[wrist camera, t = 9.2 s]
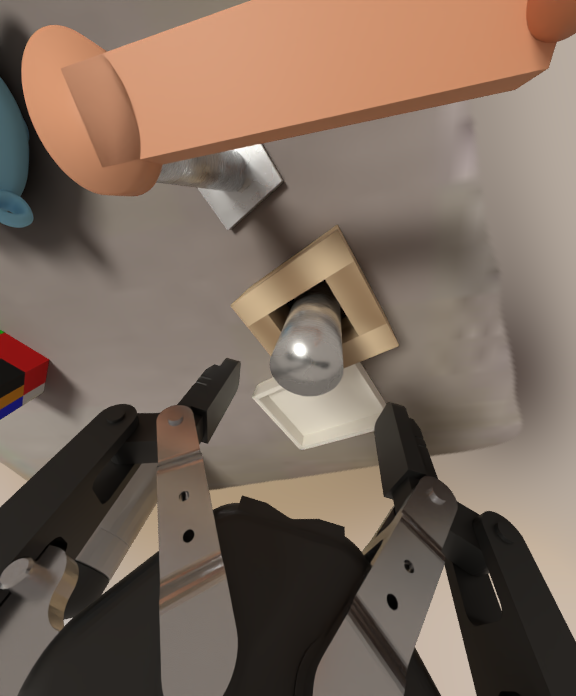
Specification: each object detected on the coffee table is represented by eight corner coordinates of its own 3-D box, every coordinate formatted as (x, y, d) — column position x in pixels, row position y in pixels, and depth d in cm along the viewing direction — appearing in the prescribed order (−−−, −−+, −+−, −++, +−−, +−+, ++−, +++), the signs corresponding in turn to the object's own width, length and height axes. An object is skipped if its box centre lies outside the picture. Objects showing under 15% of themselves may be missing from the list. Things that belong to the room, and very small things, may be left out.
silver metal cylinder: (310, 330, 25) (296, 404, 15) (287, 296, 23) (255, 356, 14) (347, 310, 23) (357, 381, 14) (325, 272, 21) (317, 322, 12)
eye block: (302, 359, 27) (296, 387, 23) (249, 287, 23) (230, 305, 19) (387, 319, 22) (399, 345, 18) (337, 224, 19) (337, 229, 15)
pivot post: (231, 229, 21) (144, 249, 11) (183, 161, 19) (28, 116, 9) (283, 181, 18) (227, 156, 9) (235, 96, 16) (93, -56, 7)
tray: (302, 435, 34) (300, 450, 32) (257, 384, 30) (251, 397, 28) (390, 410, 28) (394, 425, 26) (348, 342, 25) (348, 354, 23)
